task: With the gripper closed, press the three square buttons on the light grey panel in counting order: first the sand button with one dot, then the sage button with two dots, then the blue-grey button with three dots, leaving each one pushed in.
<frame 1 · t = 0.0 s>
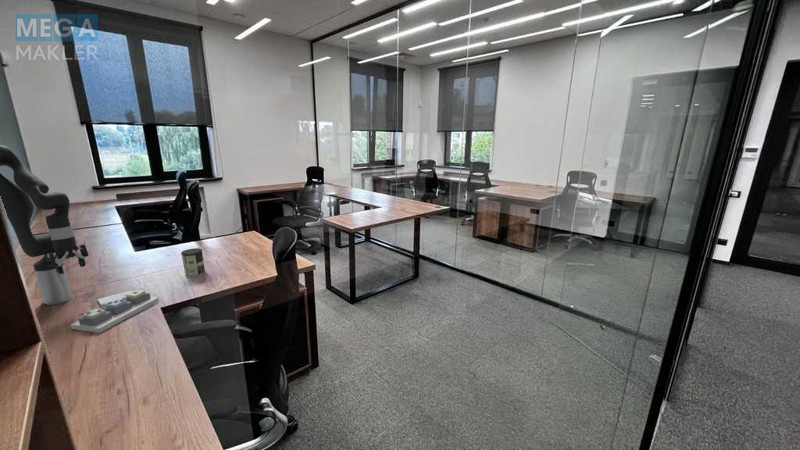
hand: (72, 270, 148), 17 cm above the table, tool pointing down, fingers open, 8 cm apart
coffee can: (195, 273, 188), on the table
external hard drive: (116, 300, 157), on the table
button panel: (118, 313, 144), on the table
button three: (116, 304, 143), point 5 cm above the table, slide at 0.0 cm
button one: (136, 295, 152), point 5 cm above the table, slide at 0.0 cm
button two: (94, 314, 134), point 5 cm above the table, slide at 0.0 cm
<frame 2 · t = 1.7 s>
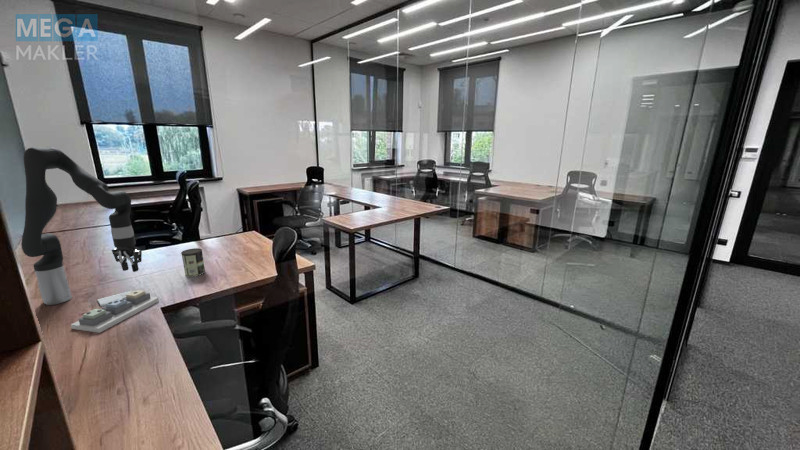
hand: (130, 270, 148), 17 cm above the table, tool pointing down, fingers open, 5 cm apart
nothing on the table moved.
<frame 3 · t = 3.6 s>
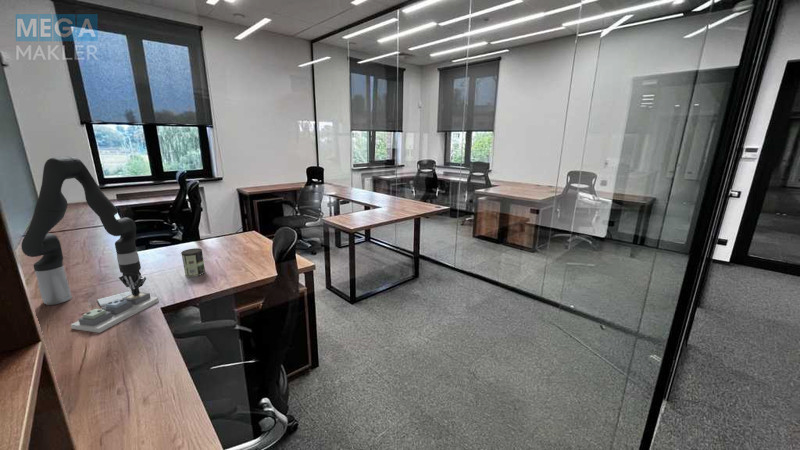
hand: (136, 295, 151), 5 cm above the table, tool pointing down, fingers closed
button one: (136, 297, 152), point 3 cm above the table, slide at 1.4 cm, touching gripper
everything else where it was.
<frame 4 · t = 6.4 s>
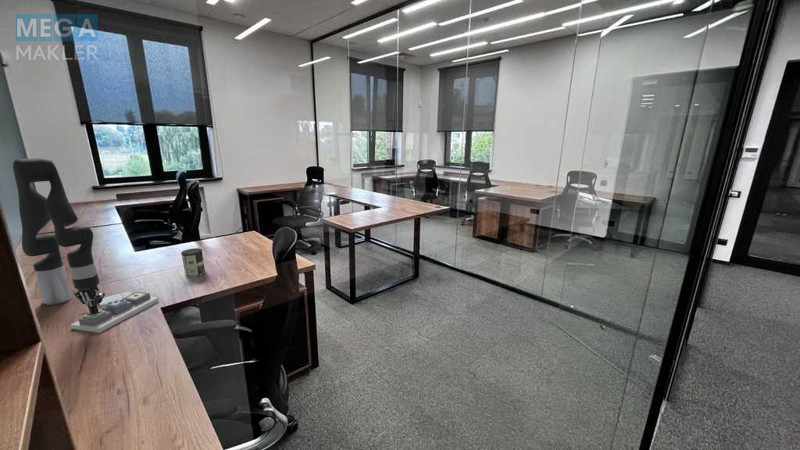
hand: (94, 313, 134), 6 cm above the table, tool pointing down, fingers closed
button one: (136, 297, 152), point 3 cm above the table, slide at 1.5 cm, touching button panel
button two: (95, 315, 135), point 4 cm above the table, slide at 0.6 cm, touching gripper
everything else where it was.
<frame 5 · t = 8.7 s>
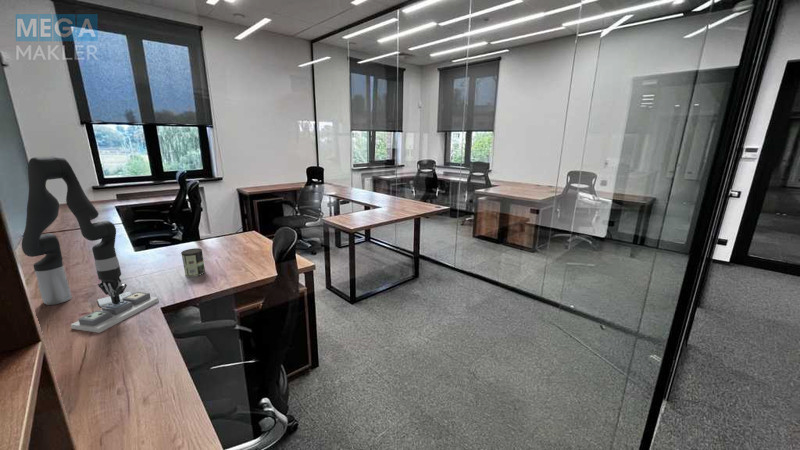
hand: (116, 303, 143), 5 cm above the table, tool pointing down, fingers closed
button three: (117, 305, 143), point 4 cm above the table, slide at 0.7 cm, touching gripper
button two: (95, 317, 135), point 3 cm above the table, slide at 1.5 cm, touching button panel
everything else where it was.
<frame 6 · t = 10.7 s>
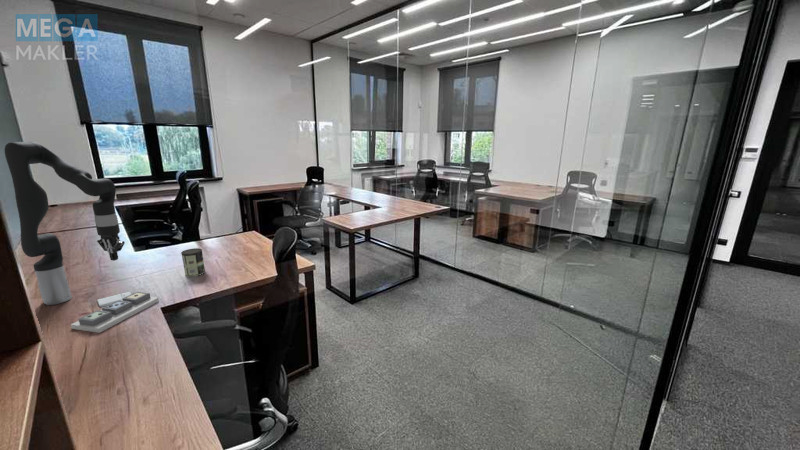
hand: (114, 259, 147), 23 cm above the table, tool pointing down, fingers closed
button three: (117, 307, 143), point 3 cm above the table, slide at 1.5 cm, touching button panel
everything else where it was.
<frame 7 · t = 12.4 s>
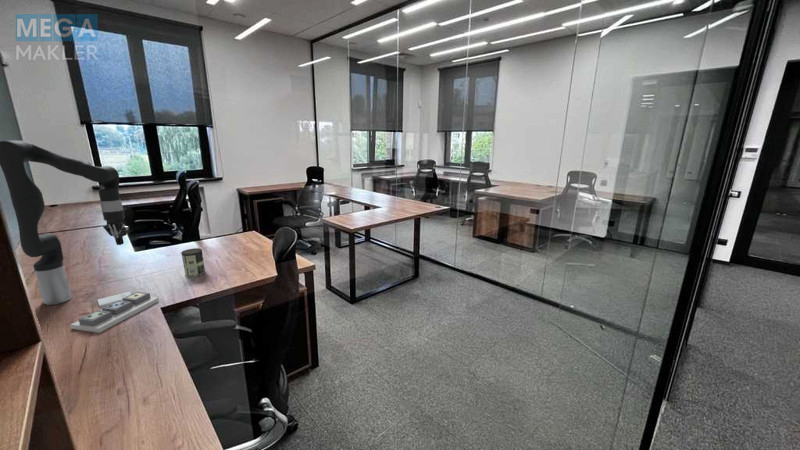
hand: (120, 244, 155), 27 cm above the table, tool pointing down, fingers closed
nothing on the table moved.
at the end: button one slide at 1.5 cm; button two slide at 1.5 cm; button three slide at 1.5 cm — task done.
